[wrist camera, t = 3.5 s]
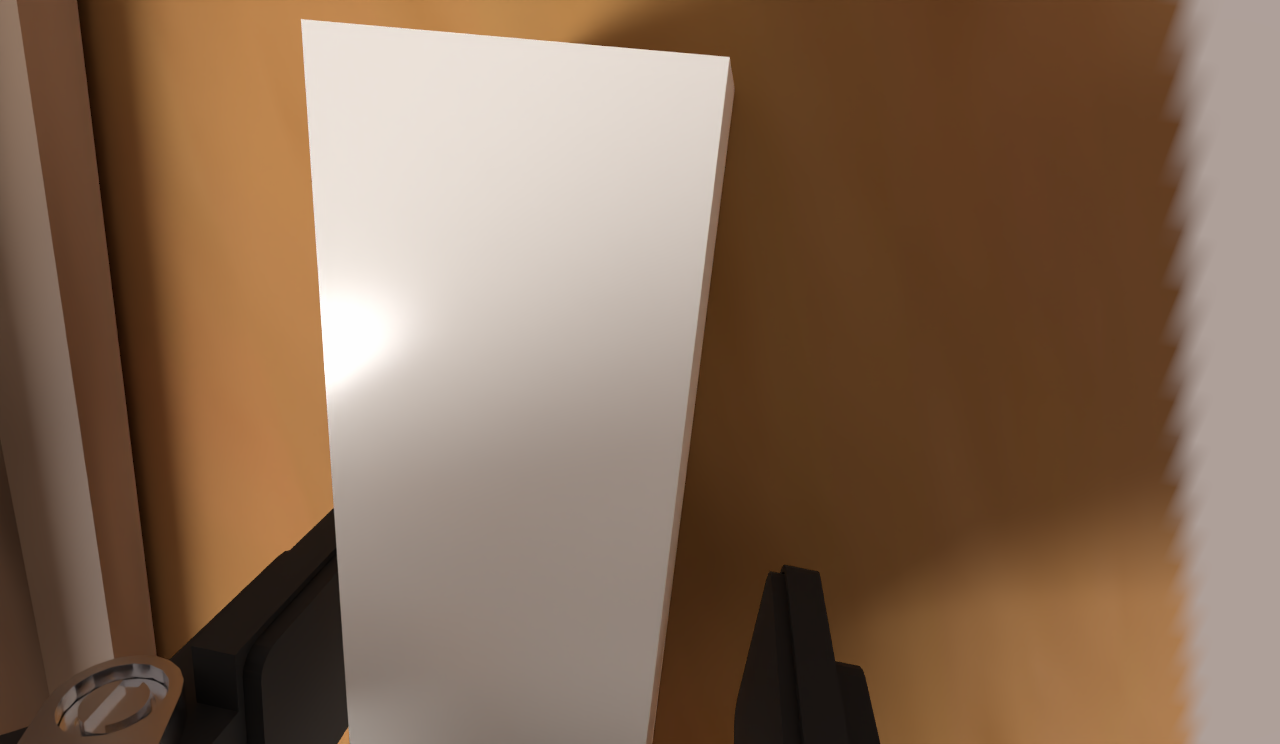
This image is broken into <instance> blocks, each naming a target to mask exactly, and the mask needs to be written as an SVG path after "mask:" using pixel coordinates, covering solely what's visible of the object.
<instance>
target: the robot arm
mask: <svg viewBox="0 0 1280 744" xmlns="http://www.w3.org/2000/svg"><path fill="white" fill-rule="evenodd" d="M347 728H348V711H347V696H346V681H345V666H344V651H343V636H342V621H341V606H340V591H339V576H338V562H337V547H336V532H335V517H334V508H333V509H332V510H331V511H330V512H329V513H328V514H327V515H326V516H325V517H324V518H323V519H322V520H321V521H320V522H319V523H318V524H317V525H316V526H315V527H314V528H313V529H312V530H310V531H309V532H308V533H307V534H306V535H305V536H304V537H303V538H302V539H301V540H300V541H299V542H298V543H297V544H296V545H295V546H294V547H293V548H292V549H291V550H289V551H285V552H284V553H282V554H281V555H279V556H278V557H277V558H276V559H275V560H274V561H273V562H272V563H271V564H270V565H268V566H267V567H266V568H265V569H264V570H263V571H262V572H261V573H260V574H259V575H258V576H257V577H256V578H255V579H254V580H253V581H252V582H251V583H250V584H249V585H247V586H246V587H245V588H244V589H243V590H242V591H241V592H240V593H239V594H238V595H237V596H236V597H235V598H234V599H233V600H232V601H231V602H230V603H229V604H228V605H227V606H225V607H224V608H223V609H222V610H221V611H220V612H219V613H218V614H217V615H216V616H215V617H214V618H213V619H212V620H211V621H210V622H209V623H208V624H207V625H206V626H204V627H203V628H202V629H201V630H200V631H199V632H198V633H197V634H196V635H195V636H194V637H193V638H192V639H191V640H190V641H189V642H188V643H187V644H186V645H185V646H183V647H182V648H181V649H180V650H179V651H178V652H177V653H176V654H175V655H174V656H173V657H172V658H171V659H170V660H167V659H164V658H161V657H158V656H150V655H133V656H126V657H119V658H115V659H112V660H108V661H105V662H102V663H99V664H96V665H93V666H91V667H89V668H87V669H85V670H83V671H81V672H79V673H77V674H75V675H74V676H72V677H71V678H70V679H68V680H67V681H66V682H64V683H63V684H61V685H60V686H59V687H57V688H56V689H55V691H54V692H53V693H52V694H51V695H50V696H49V697H48V699H47V700H46V701H45V702H44V703H43V705H42V706H41V708H40V709H39V711H38V712H37V714H36V716H35V717H34V719H33V720H32V722H31V723H30V725H29V726H28V727H25V728H22V729H19V730H15V731H12V732H9V733H6V734H3V735H0V744H337V743H338V742H339V740H340V739H341V737H342V736H343V734H344V732H345V731H346V729H347ZM734 744H880V741H879V736H878V732H877V727H876V723H875V718H874V714H873V710H872V705H871V701H870V696H869V692H868V687H867V683H866V678H865V675H864V672H863V670H862V669H861V667H860V666H856V665H851V664H846V663H842V662H837V661H835V658H834V652H833V647H832V641H831V635H830V630H829V624H828V618H827V613H826V607H825V601H824V596H823V590H822V584H821V579H820V574H819V572H818V571H814V570H808V569H803V568H798V567H793V566H788V565H783V567H782V569H781V572H780V573H776V572H771V571H770V572H769V573H768V576H767V579H766V583H765V587H764V592H763V596H762V600H761V604H760V608H759V612H758V616H757V620H756V624H755V628H754V633H753V637H752V641H751V645H750V649H749V653H748V657H747V661H746V665H745V669H744V673H743V678H742V682H741V686H740V690H739V694H738V698H737V703H736V710H735V720H734Z"/></svg>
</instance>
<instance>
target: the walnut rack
mask: <svg viewBox="0 0 1280 744" xmlns="http://www.w3.org/2000/svg"><path fill="white" fill-rule="evenodd" d="M133 655H150V656H157V655H156V647H155V639H154V630H153V622H152V614H151V606H150V598H149V589H148V581H147V573H146V565H145V556H144V548H143V540H142V532H141V524H140V515H139V507H138V499H137V491H136V482H135V474H134V466H133V458H132V450H131V441H130V433H129V425H128V417H127V408H126V400H125V392H124V384H123V375H122V367H121V359H120V351H119V343H118V334H117V326H116V318H115V310H114V301H113V293H112V285H111V277H110V269H109V260H108V252H107V244H106V236H105V227H104V219H103V211H102V203H101V194H100V186H99V178H98V170H97V162H96V153H95V145H94V137H93V129H92V120H91V112H90V104H89V96H88V88H87V79H86V71H85V63H84V55H83V46H82V38H81V30H80V22H79V14H78V5H77V0H0V735H3V734H6V733H9V732H12V731H15V730H19V729H22V728H25V727H28V726H29V725H30V723H31V722H32V720H33V719H34V717H35V716H36V714H37V712H38V711H39V709H40V708H41V706H42V705H43V703H44V702H45V701H46V700H47V699H48V697H49V696H50V695H51V694H52V693H53V692H54V691H55V689H56V688H57V687H59V686H60V685H61V684H63V683H64V682H66V681H67V680H68V679H70V678H71V677H72V676H74V675H75V674H77V673H79V672H81V671H83V670H85V669H87V668H89V667H91V666H93V665H96V664H99V663H102V662H105V661H108V660H112V659H115V658H119V657H126V656H133Z"/></svg>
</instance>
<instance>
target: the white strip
mask: <svg viewBox="0 0 1280 744" xmlns="http://www.w3.org/2000/svg"><path fill="white" fill-rule="evenodd" d="M301 24H302V39H303V54H304V69H305V84H306V99H307V114H308V129H309V144H310V159H311V174H312V189H313V203H314V218H315V233H316V248H317V263H318V278H319V293H320V308H321V323H322V338H323V353H324V368H325V382H326V397H327V412H328V427H329V442H330V457H331V472H332V487H333V502H334V517H335V532H336V547H337V562H338V576H339V591H340V606H341V621H342V636H343V651H344V666H345V681H346V696H347V711H348V726H349V741H350V744H652V742H653V734H654V726H655V718H656V710H657V702H658V694H659V687H660V679H661V671H662V663H663V655H664V647H665V639H666V631H667V623H668V615H669V607H670V599H671V591H672V583H673V575H674V567H675V559H676V552H677V544H678V536H679V528H680V520H681V512H682V504H683V496H684V488H685V480H686V472H687V464H688V456H689V448H690V440H691V432H692V425H693V417H694V409H695V401H696V393H697V385H698V377H699V369H700V361H701V353H702V345H703V337H704V329H705V321H706V313H707V305H708V298H709V290H710V282H711V274H712V266H713V258H714V250H715V242H716V234H717V226H718V218H719V210H720V202H721V194H722V186H723V178H724V171H725V163H726V155H727V147H728V139H729V131H730V123H731V115H732V107H733V99H734V91H735V88H734V82H733V75H732V69H731V62H730V57H723V56H712V55H700V54H689V53H678V52H666V51H655V50H644V49H632V48H621V47H610V46H598V45H587V44H575V43H564V42H553V41H541V40H530V39H519V38H507V37H496V36H485V35H473V34H462V33H450V32H439V31H428V30H416V29H405V28H394V27H382V26H371V25H360V24H348V23H337V22H325V21H314V20H303V19H301Z"/></svg>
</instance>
